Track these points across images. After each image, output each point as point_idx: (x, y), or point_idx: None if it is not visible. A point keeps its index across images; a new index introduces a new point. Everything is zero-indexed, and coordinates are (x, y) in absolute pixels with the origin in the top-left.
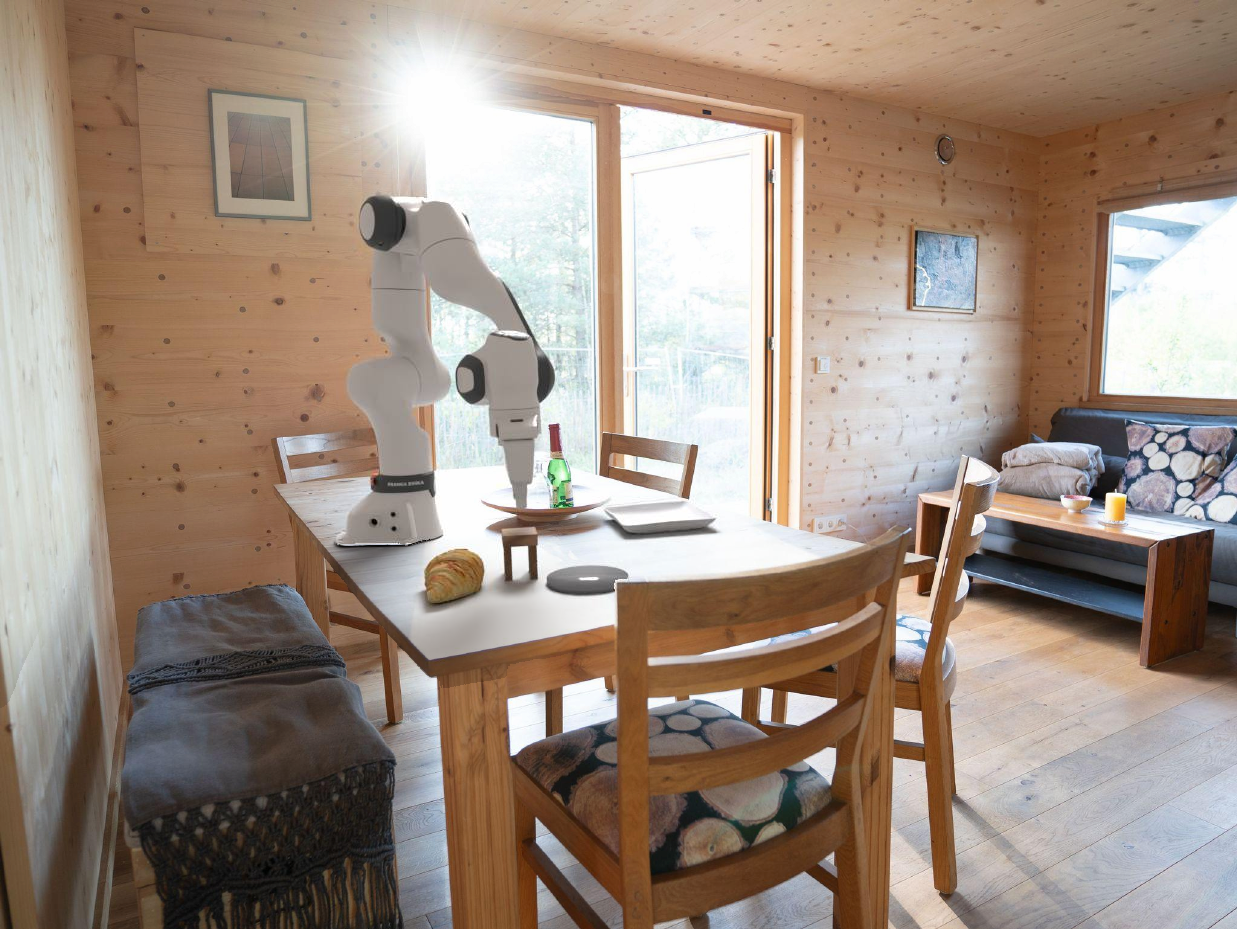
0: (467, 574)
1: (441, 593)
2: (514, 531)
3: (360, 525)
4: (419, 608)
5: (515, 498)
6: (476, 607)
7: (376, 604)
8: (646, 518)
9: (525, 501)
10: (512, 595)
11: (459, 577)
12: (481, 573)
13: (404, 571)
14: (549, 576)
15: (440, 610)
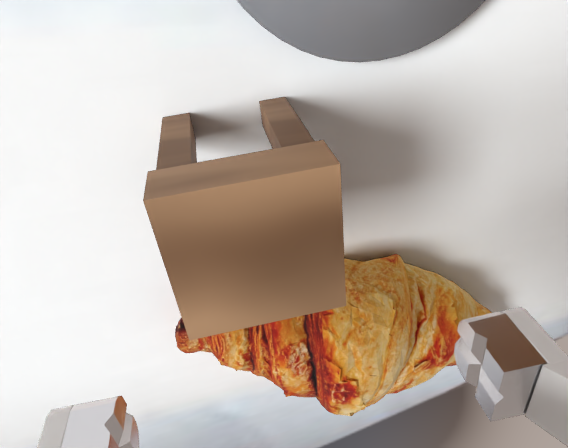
0: (429, 305)
1: None
2: (255, 279)
3: None
4: None
5: (133, 434)
6: (518, 229)
7: (418, 402)
8: None
9: (551, 343)
10: (453, 158)
11: (465, 315)
12: (391, 276)
13: (169, 441)
14: (347, 50)
15: (505, 294)
